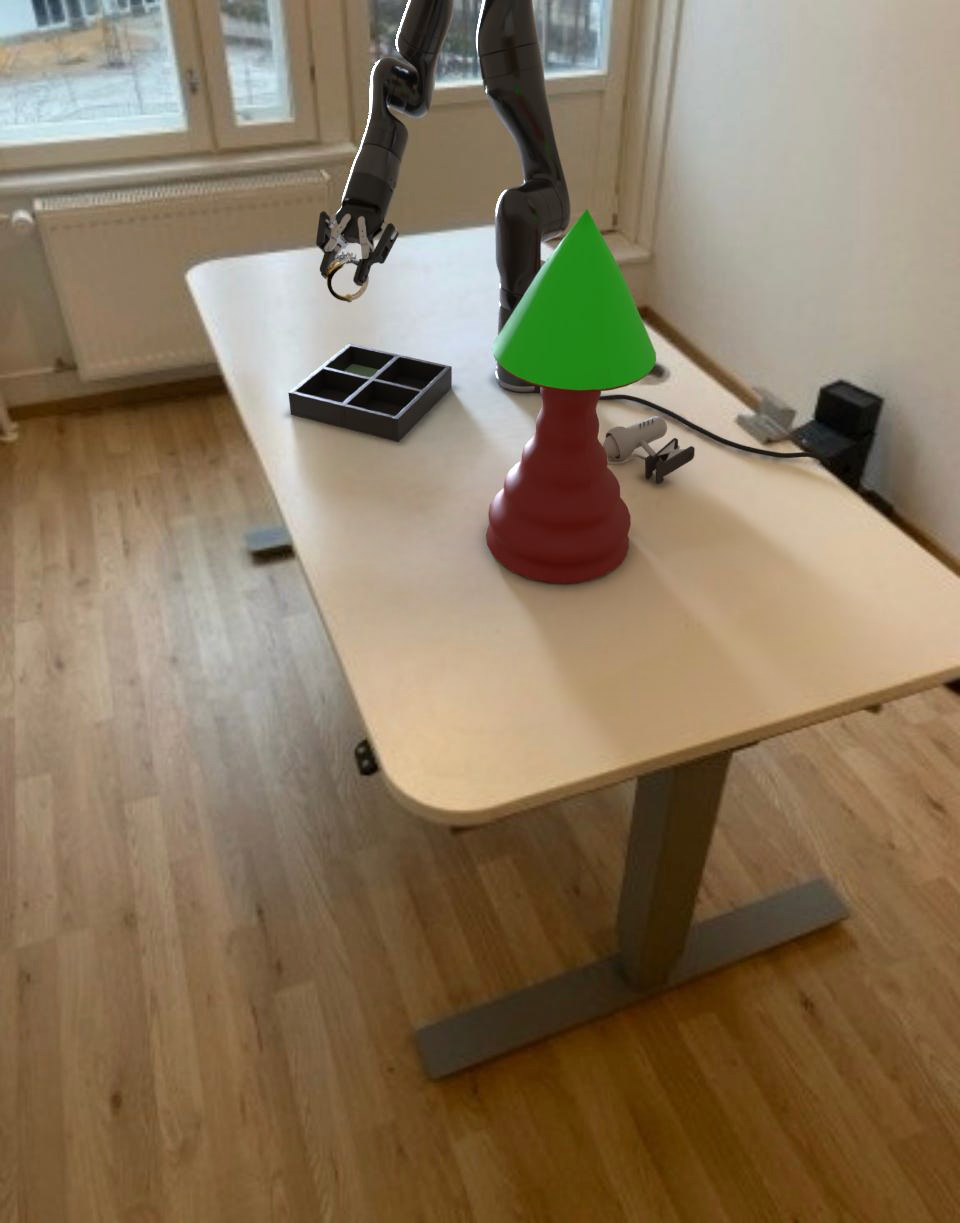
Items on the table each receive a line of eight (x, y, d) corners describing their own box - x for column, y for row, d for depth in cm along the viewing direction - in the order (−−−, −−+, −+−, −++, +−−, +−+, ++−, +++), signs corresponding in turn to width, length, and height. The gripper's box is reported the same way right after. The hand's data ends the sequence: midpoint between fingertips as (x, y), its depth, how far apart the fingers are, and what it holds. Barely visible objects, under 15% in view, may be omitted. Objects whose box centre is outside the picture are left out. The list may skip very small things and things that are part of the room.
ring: (367, 295, 163) (364, 248, 158) (371, 303, 161) (368, 255, 155) (326, 299, 161) (322, 251, 156) (329, 307, 159) (325, 259, 154)
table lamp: (541, 605, 124) (570, 255, 95) (458, 528, 136) (461, 197, 107) (658, 555, 133) (717, 220, 103) (570, 487, 145) (600, 170, 115)
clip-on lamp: (594, 515, 145) (698, 469, 147) (592, 484, 140) (699, 437, 143) (558, 469, 152) (657, 426, 155) (554, 438, 147) (657, 395, 150)
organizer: (451, 388, 168) (451, 366, 165) (398, 442, 154) (397, 419, 151) (350, 364, 173) (349, 343, 171) (290, 414, 159) (288, 392, 157)
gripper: (324, 163, 156) (292, 262, 156) (403, 176, 152) (371, 278, 151) (343, 188, 163) (313, 283, 163) (419, 201, 159) (388, 298, 159)
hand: (341, 280), depth 157 cm, fingers closed on ring, 5 cm apart
